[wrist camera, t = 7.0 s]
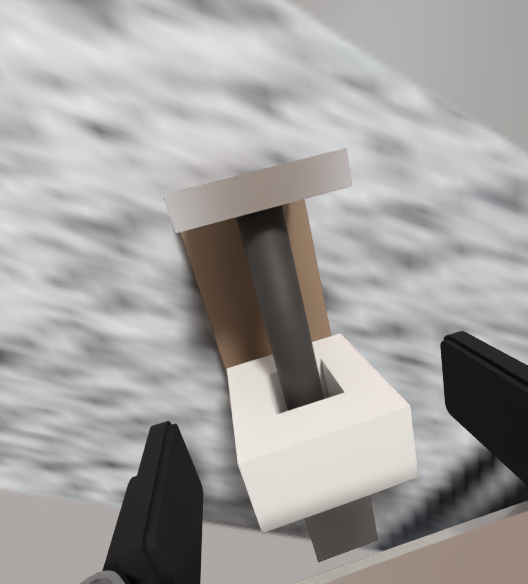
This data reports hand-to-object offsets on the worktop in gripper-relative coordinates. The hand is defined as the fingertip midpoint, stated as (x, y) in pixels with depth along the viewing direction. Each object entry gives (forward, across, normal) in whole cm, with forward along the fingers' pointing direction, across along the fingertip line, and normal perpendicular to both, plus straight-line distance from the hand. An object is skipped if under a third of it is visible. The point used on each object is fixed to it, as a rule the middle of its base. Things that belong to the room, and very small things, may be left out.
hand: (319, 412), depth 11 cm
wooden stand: (+6, 0, -2) cm, 6 cm away
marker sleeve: (+2, 0, 0) cm, 2 cm away
